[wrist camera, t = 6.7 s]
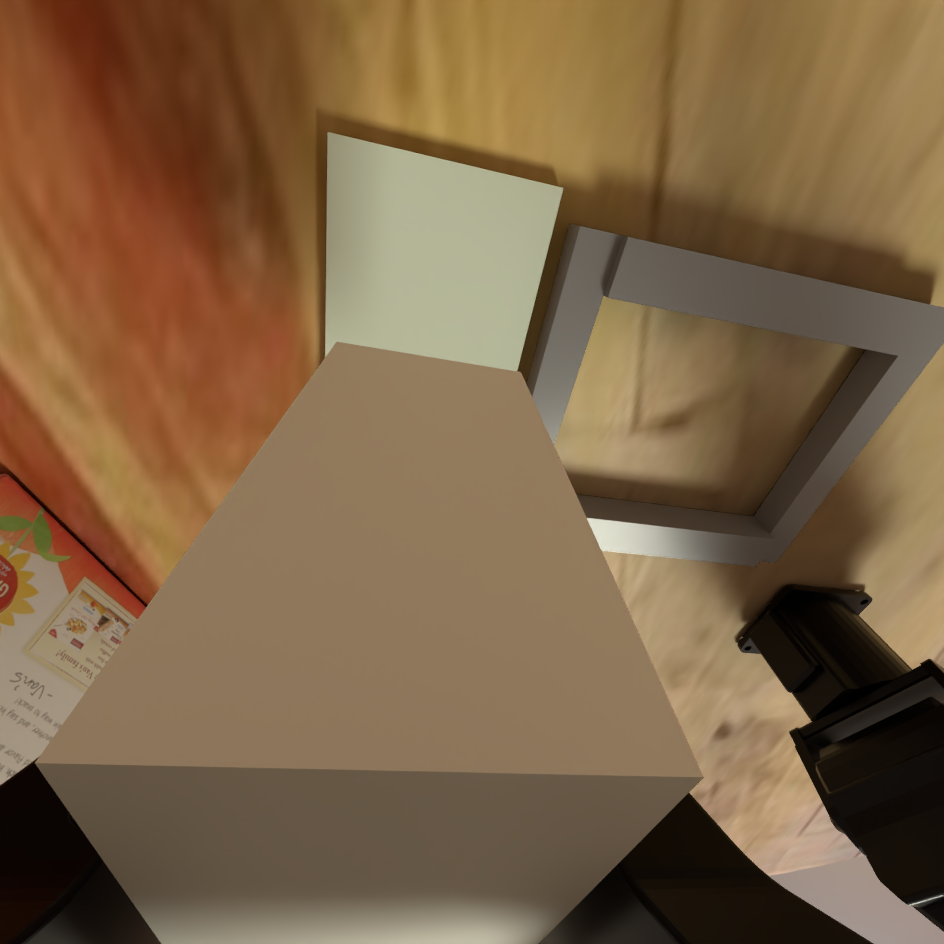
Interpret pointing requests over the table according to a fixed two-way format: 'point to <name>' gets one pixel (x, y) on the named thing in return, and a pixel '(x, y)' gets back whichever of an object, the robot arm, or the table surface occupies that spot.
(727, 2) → the table surface
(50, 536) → the cracker box
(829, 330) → the frame
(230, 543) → the off-white block
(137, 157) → the table surface
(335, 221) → the sage mat
